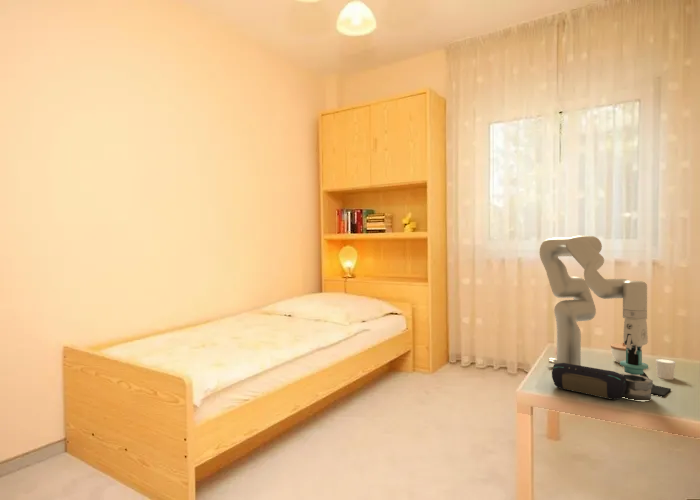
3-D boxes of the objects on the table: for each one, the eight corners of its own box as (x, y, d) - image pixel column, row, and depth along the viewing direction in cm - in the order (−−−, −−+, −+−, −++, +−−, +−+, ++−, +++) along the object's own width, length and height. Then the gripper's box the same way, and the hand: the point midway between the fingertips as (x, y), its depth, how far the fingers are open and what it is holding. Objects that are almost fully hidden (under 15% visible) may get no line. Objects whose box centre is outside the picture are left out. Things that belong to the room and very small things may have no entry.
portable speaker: (548, 389, 168) (548, 364, 168) (555, 382, 176) (555, 358, 176) (623, 405, 152) (623, 377, 151) (628, 397, 159) (628, 370, 159)
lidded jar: (629, 366, 198) (629, 346, 198) (605, 361, 207) (606, 341, 207) (641, 363, 203) (642, 343, 203) (618, 358, 213) (618, 339, 212)
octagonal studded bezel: (612, 395, 161) (612, 377, 161) (624, 389, 167) (624, 371, 167) (644, 404, 153) (644, 384, 153) (655, 397, 159) (655, 378, 159)
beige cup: (678, 380, 179) (679, 363, 178) (660, 379, 180) (660, 362, 180) (670, 375, 185) (670, 359, 185) (652, 374, 187) (652, 358, 187)
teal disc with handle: (615, 371, 161) (615, 349, 161) (625, 367, 166) (625, 346, 166) (642, 377, 154) (642, 354, 154) (652, 372, 159) (652, 350, 159)
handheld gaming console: (671, 394, 158) (651, 369, 163) (652, 403, 161) (633, 378, 166) (672, 390, 167) (653, 366, 172) (654, 398, 170) (636, 375, 175)
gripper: (637, 318, 152) (637, 370, 152) (654, 313, 161) (654, 362, 162) (614, 315, 158) (614, 365, 158) (632, 311, 167) (632, 358, 168)
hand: (634, 363), depth 160 cm, fingers closed on teal disc with handle
